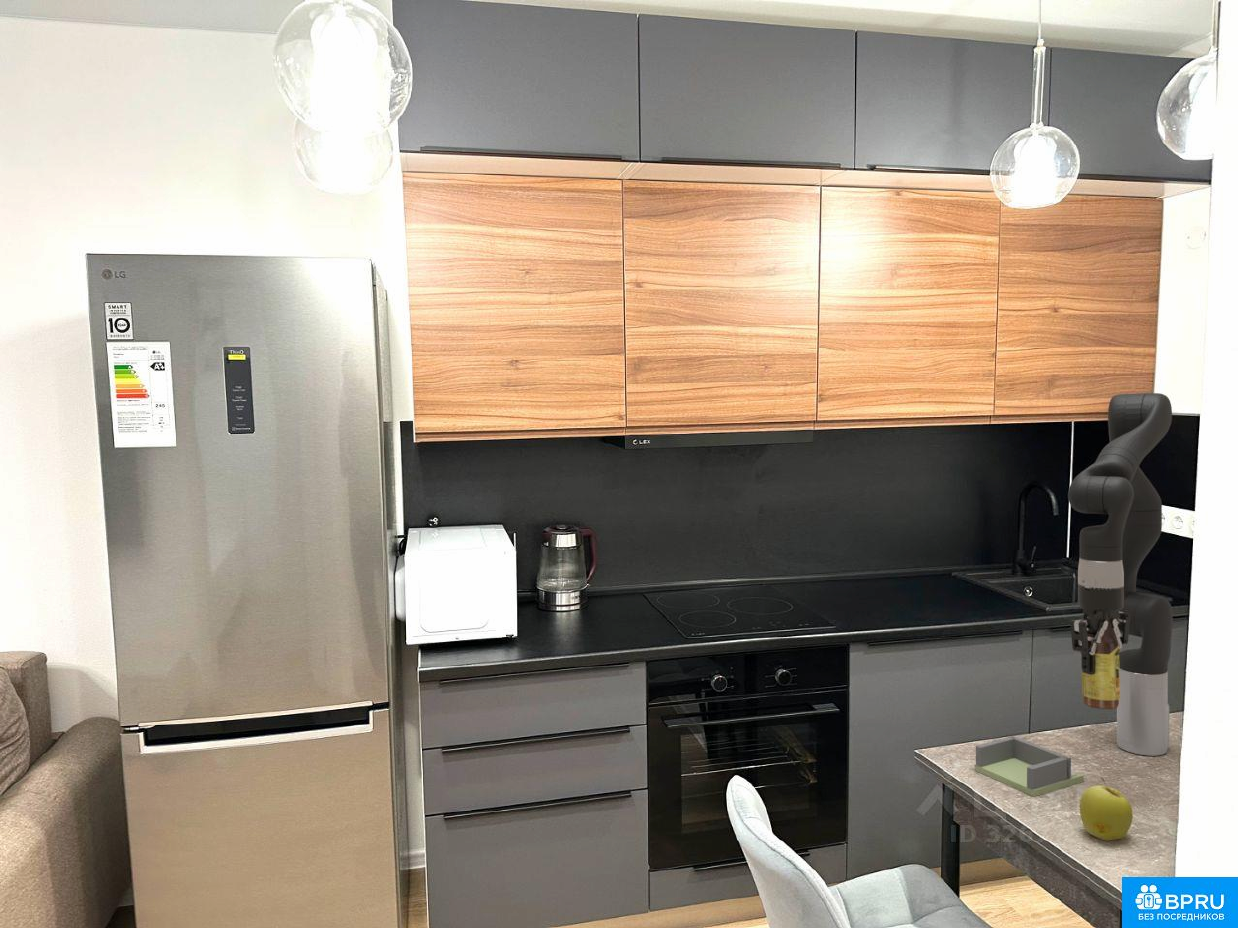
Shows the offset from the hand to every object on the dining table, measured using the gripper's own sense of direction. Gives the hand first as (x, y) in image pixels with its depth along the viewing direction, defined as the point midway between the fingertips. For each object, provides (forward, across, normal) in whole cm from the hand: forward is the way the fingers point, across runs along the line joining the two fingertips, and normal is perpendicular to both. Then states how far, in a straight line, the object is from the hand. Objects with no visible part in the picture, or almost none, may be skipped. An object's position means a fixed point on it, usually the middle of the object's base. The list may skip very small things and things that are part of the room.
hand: (1100, 670), depth 166 cm
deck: (+24, +5, -12) cm, 27 cm away
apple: (+24, +14, +11) cm, 30 cm away
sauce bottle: (+7, 0, 0) cm, 7 cm away
